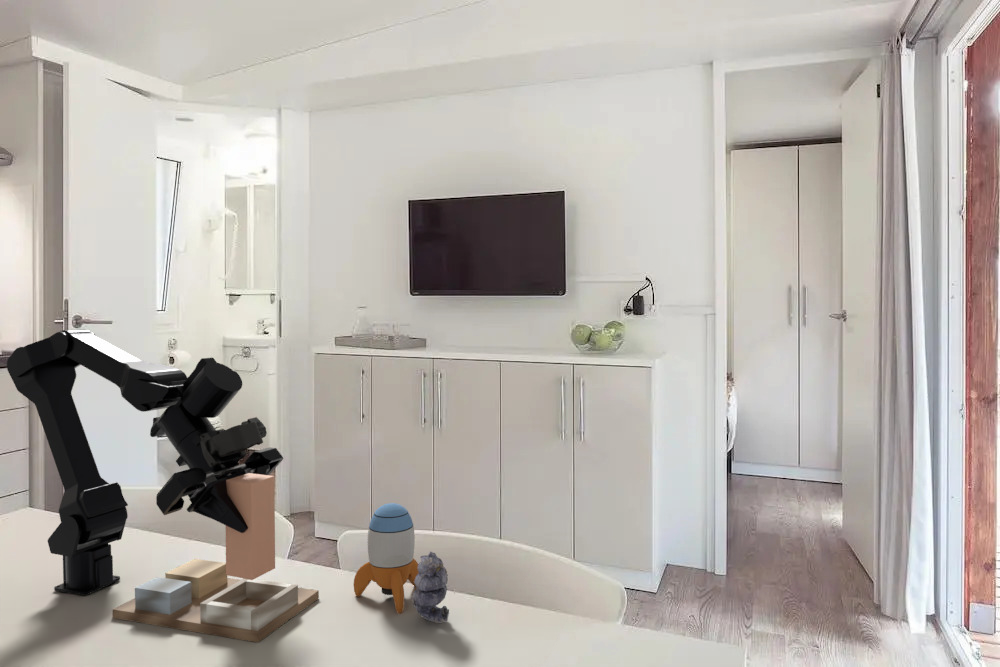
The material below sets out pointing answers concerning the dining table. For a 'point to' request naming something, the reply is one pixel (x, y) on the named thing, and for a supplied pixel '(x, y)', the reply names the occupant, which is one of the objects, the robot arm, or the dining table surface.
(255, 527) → the post
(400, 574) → the toy rocket
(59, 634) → the dining table surface
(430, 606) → the seashell
